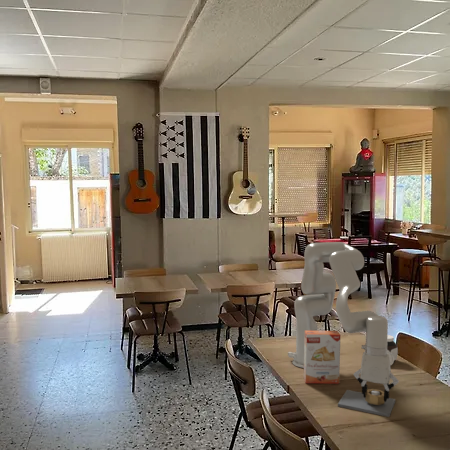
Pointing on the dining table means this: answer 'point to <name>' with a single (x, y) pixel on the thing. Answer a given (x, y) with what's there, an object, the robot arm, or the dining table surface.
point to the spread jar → (391, 349)
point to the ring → (374, 397)
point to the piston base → (365, 403)
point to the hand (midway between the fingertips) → (375, 397)
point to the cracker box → (322, 357)
